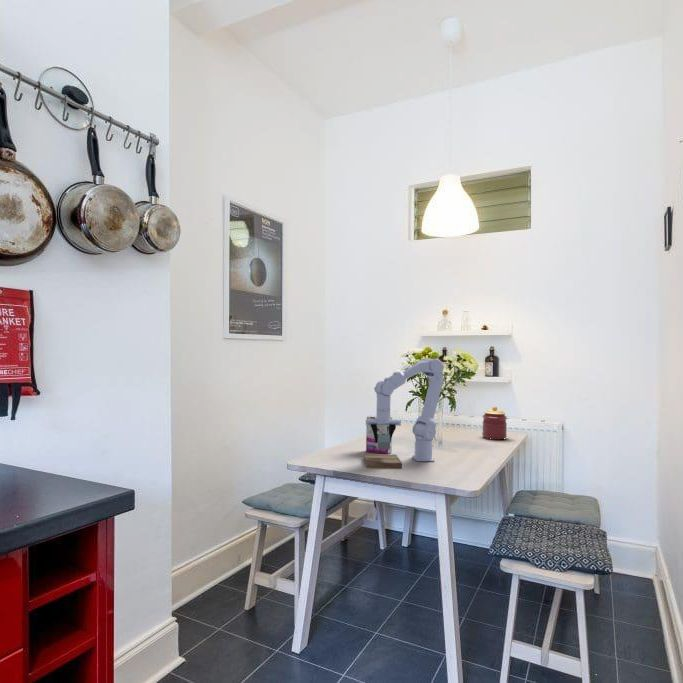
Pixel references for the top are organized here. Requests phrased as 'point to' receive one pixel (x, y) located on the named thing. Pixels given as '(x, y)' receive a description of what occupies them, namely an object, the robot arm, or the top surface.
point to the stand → (382, 461)
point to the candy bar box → (371, 440)
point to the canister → (494, 424)
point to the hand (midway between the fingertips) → (382, 442)
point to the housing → (383, 440)
